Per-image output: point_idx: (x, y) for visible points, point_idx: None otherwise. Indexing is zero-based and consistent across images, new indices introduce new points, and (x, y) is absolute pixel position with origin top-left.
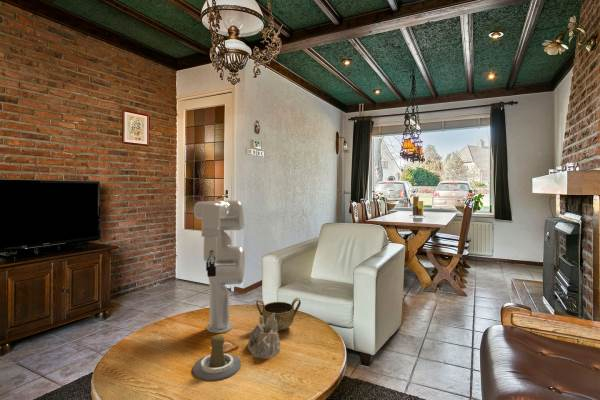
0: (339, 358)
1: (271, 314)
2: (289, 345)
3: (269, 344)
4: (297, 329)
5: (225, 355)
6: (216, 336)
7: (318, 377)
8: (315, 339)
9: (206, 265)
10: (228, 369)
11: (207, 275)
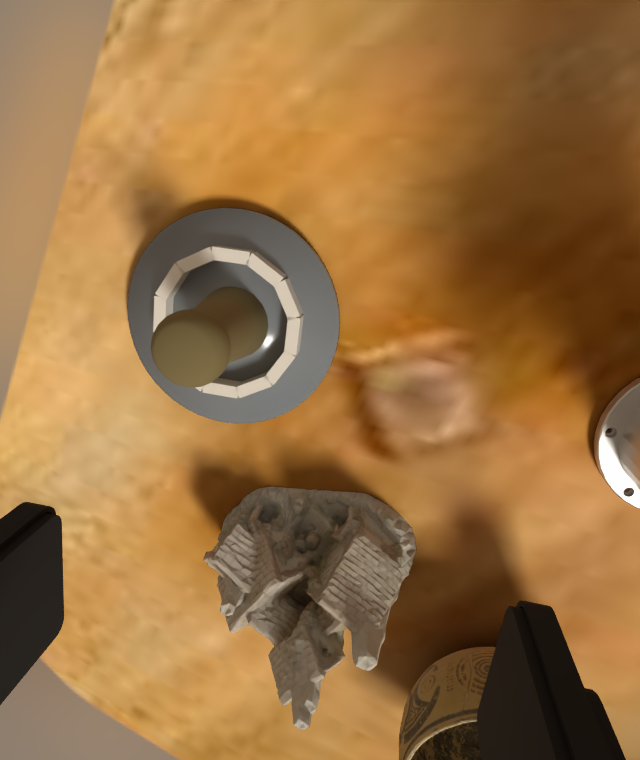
0: (132, 726)
1: (435, 720)
2: None
3: (217, 571)
4: None
5: (267, 373)
6: (182, 349)
7: None
8: (300, 744)
9: (554, 707)
10: None
11: (16, 508)
